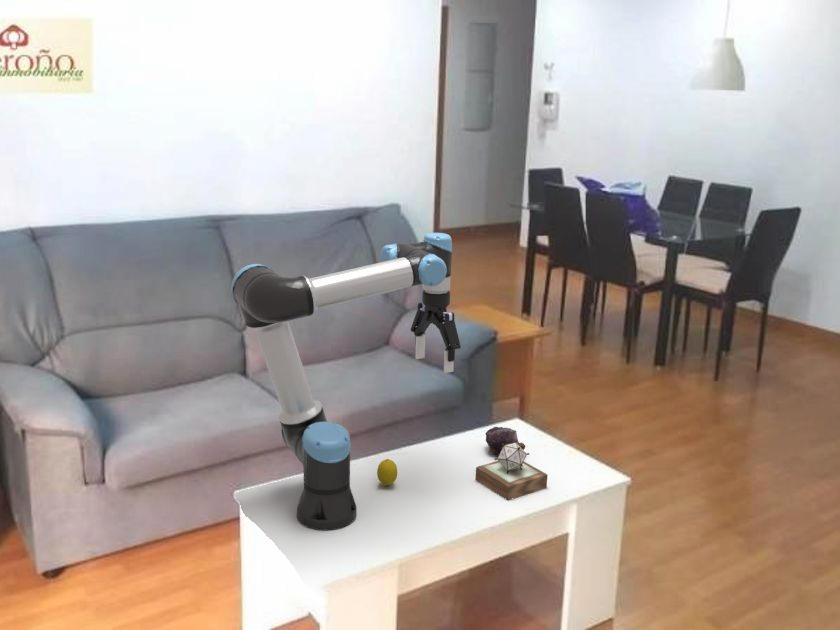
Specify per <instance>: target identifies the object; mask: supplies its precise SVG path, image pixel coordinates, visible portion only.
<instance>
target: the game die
mask: <svg viewBox="0 0 840 630" xmlns="http://www.w3.org/2000/svg"><path fill="white" fill-rule="evenodd" d="M502 445H503V447H501V449H502V450H501V452H500V454H499V456H498V455H497V458H494V459H493V460H494V461H499V462H500V463H501V464H502V465H503V466H504V467H505V468H506V470H507V474H508V472H509V471H510V470H514V469H518V468H520V469H521V470H522V468H521V466H522V467H523V465H522V464H523V462H525V460H526V457H527V456H528V455H530V453H529V452H527V453H526V451H525V449H524V450H523V449H522V448H521V447H520V446H519V445H518V444H517V440H516V441H515V443H511V444H507V445H504V444H503V443H502Z"/></svg>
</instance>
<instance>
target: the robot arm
mask: <svg viewBox="0 0 840 630" xmlns="http://www.w3.org/2000/svg"><path fill="white" fill-rule="evenodd" d="M452 255H453V241H452V237H451V235H449V234H447V233H445V232H429V233H426V234H424V236H423V241H421V242H408V243H393V244H386V245H384V246H383V247H382V249H381V252H380V262H377V263H371V264H367V265H364V266H359V267H355V268H354V267H353V268H351V269H346V270H342V271H341V270H340V271H337V272H333V273H329V274H323V275H320V276H316V277H310V278H309V277H307V276H305V275H299V276H294V277H285V276H281V275H279V274H278V273H277V272H276V271H274V270H273V269H272V268H271V267H269V266H267V265H264V264H260V263H252V264H249V265H246V266H243V267H242V268H241V269H239V270H238V271H237V273H236V274H235V275H234V276H233V279H232V281H231V286H230V291H231V294H232V298H233V300H234V301H235V303H236V304H237V305H238V306H239V308H240V311H241V312H240V313H241V315H242V318H243V320H244V323H245V326H246V327H247V328H248V329H250V330H252V331H254V333H255V336H256V339H257V341H258V345H259V347H260V350H261V353H262V355H263V358H264V362H265V364H266V367H267V370H268V373H269V376H270V379H271V381H272V385H273V387H274V391H275V393H276V396H277V399H278V402H279V405H280V407H281V411H280V413H279V415H278V420H279V423H280V433H281V434H280V435H281V438H282V440H283V443H284V444H285V446H286V447H287V448H288V449H289V450H290V451H292V454H294V455H295V457H296V458H297V459H298V461H300V463H301V464H302V467H303V471H302V473H303V489H302V492H301V494H300V497H299V501H298V504H297V507H296V518H297V520H298V522H299V523H300V524H301V525H303V526H305V527H307V528H310V529H314V530H322V531H325V530H326V531H331V530H337V529H341V528H344V527H346V526H348V525H351V523H352V524H353V522H354V521H355V520H356V519H357V504H356V501H355V497H354V495H353V492H352V489H351V447H352V443H351V437H350V433H349V431H348V429H346V428H345V427H344V426H343V425H341V424H339V423H335V422H332V421H328V420H327V416H326V414H325V411H324V408H323V405H322V402H321V401H319V400H317V399H314V397H313V393H312V390H311V387H310V384H309V380H308V378H307V375H306V371H305V368H304V365H303V363H302V360H301V356H300V353H299V350H298V346H297V344H296V341H295V337H294V335H293V332H292V329H291V327H290V323H289V322H290V321H294V320H297V319H303V318H306V317H311V316H314V314H315V313H316V311H317V310H320V309H325V308H328V307H333V306H337V305H341V304H345V303H349V302H350V303H351V302H354V301H358V300H361V299H366V298H370V297H373V296H377V295H382V294H386V293H387V294H388V293H390V292H395V291H398V290H402V289H407V288H410V287H411V288H412V287H415V286H421V285H422V294H421V295H422V298H421V301H422V302H418V304H417V310H416V313H415V316H414V318H413V322H412V323H411V326H410V332H411V333H413V334H414V336H415V338H414V339H415V340H414V341H415V342H414V343H415V344H414V345H415V354H414V355H415V359H416V360H420V359H425V358H426V357H425V356H426V331H427V329H428V328H429V326H430V325H431V324H432V325H434V326H435V327H436V329H438V330H439V333H440V335H441V338H442V341H443V343H444V345H445V349H444V350H443V351H444V353H443V354H444V355H443V374H444V373H445V374H448V373H453V372H454V362H455V358H456V355H455V354H456V350H459V349H461V342H460V338H459V334H458V329H457V326H456V321H455V313H454V312H448V311H447V308H448V306H449V305H450V304H451V292H450V290H451V275H452V273H451V272H452Z"/></svg>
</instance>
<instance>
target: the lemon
mask: <svg viewBox="0 0 840 630" xmlns="http://www.w3.org/2000/svg"><path fill="white" fill-rule="evenodd" d="M376 472H377V473H376V476H377V480H378V481H379V482H380V483H381V484H382V485H384V486H386V487H389V485H392V484H393V483H395V482H396V480H397V478H398V467H397V465H396V463H395V462H394V461H393V460H392V459H389V458H386V459H384V460H382V461H380V462H379V464H378V466H377V471H376Z"/></svg>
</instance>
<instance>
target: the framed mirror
mask: <svg viewBox="0 0 840 630" xmlns="http://www.w3.org/2000/svg"><path fill="white" fill-rule="evenodd" d="M522 465H523V467H522V466H521V468H522V470H521V469H520V468H518V469H514V470H510V471H509V472H508V474H507V470H506V468H505V467H504V466H503V465H502V464H501V463H500V462H499V461H498V460H494V461H492V462H489V463H486V464H483V465H479V466H476V467H475V481H476V482H477V483H479V484H481V485H483V486H484V487H485V488H487V489H488V490H491V491H492V492H494V493H495V494H497V495H498V494H499V496H500V497H502V498H503V497H504V498H503V499H505V498H506V499H507V500H506V499H505V500H506V501H510V500H512V498H513V499H515V498H519V496H520V497H522V496H526V495H528V494H531V493H535V492H538V491H541V490H544V489H547V487H548V474H547V473H545V472H544V471H542V470H540V469H538V468H537V467H535V466H533V465H531V464H529V463H527V462H526V461H524V462H523V464H522Z"/></svg>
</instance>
